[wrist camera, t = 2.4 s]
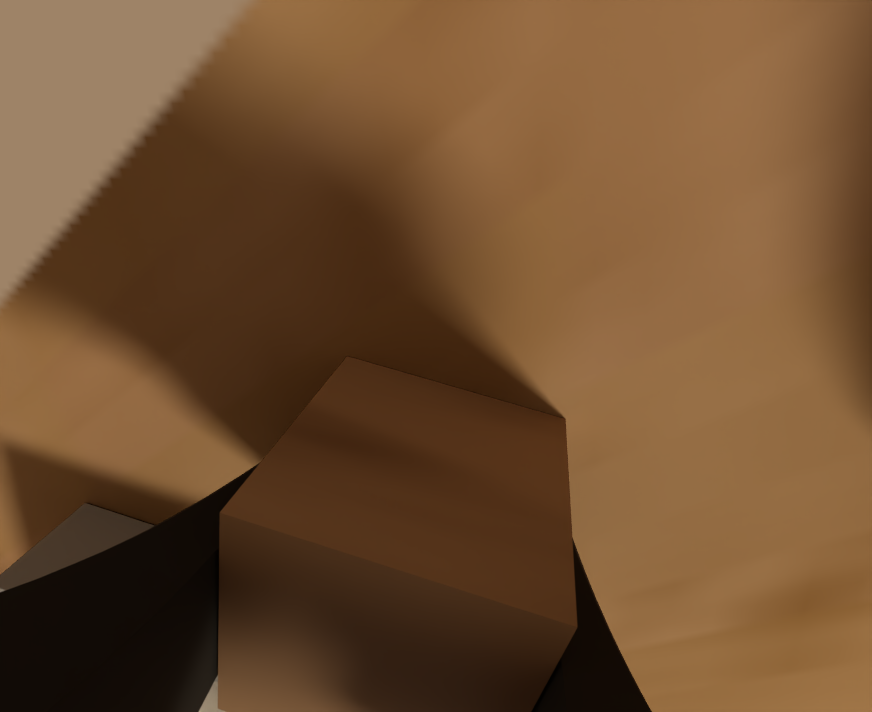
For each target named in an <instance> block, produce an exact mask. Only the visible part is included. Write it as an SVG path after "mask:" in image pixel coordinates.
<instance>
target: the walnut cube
mask: <svg viewBox="0 0 872 712" xmlns="http://www.w3.org/2000/svg"><path fill="white" fill-rule="evenodd" d="M576 629H577V611H576V593H575V576H574V559H573V541H572V524H571V507H570V489H569V472H568V455H567V438H566V420H565V419H564V418H560V417H557V416H553V415H550V414H546V413H543V412H539V411H536V410H533V409H529V408H526V407H522V406H519V405H515V404H512V403H508V402H505V401H501V400H498V399H494V398H491V397H487V396H484V395H480V394H477V393H473V392H470V391H467V390H463V389H460V388H456V387H453V386H449V385H446V384H442V383H439V382H435V381H432V380H428V379H425V378H421V377H418V376H414V375H411V374H408V373H404V372H401V371H397V370H394V369H390V368H387V367H383V366H380V365H376V364H373V363H369V362H366V361H362V360H359V359H355V358H352V357H349V356H347V357H346V358H345V359H344V361H343V362H342V363H341V364H340V366H339V367H338V368H337V369H336V370H335V372H334V373H333V374H332V375H331V377H330V378H329V379H328V380H327V381H326V383H325V384H324V385H323V386H322V388H321V389H320V390H319V391H318V393H317V394H316V395H315V396H314V397H313V399H312V400H311V401H310V402H309V404H308V405H307V406H306V407H305V408H304V410H303V411H302V412H301V413H300V415H299V416H298V417H297V418H296V420H295V421H294V422H293V423H292V424H291V426H290V427H289V428H288V429H287V431H286V432H285V433H284V434H283V435H282V437H281V438H280V439H279V440H278V442H277V443H276V444H275V445H274V447H273V448H272V449H271V450H270V451H269V453H268V454H267V455H266V456H265V458H264V459H263V460H262V461H261V462H260V464H259V465H258V466H257V467H256V469H255V470H254V471H253V472H252V473H251V475H250V476H249V477H248V478H247V480H246V481H245V482H244V483H243V485H242V486H241V487H240V488H239V489H238V491H237V492H236V493H235V494H234V496H233V497H232V498H231V499H230V500H229V502H228V503H227V504H226V505H225V507H224V508H223V509H222V510H221V512H220V525H219V622H218V709H220V710H223V711H226V712H531V711H532V709H533V708H534V706H535V704H536V702H537V700H538V698H539V697H540V695H541V693H542V691H543V689H544V687H545V686H546V684H547V682H548V680H549V678H550V677H551V675H552V673H553V671H554V669H555V667H556V666H557V664H558V662H559V660H560V658H561V657H562V655H563V653H564V651H565V649H566V647H567V646H568V644H569V642H570V640H571V638H572V636H573V635H574V633H575V631H576Z"/></svg>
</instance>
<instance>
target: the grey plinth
mask: <svg viewBox="0 0 872 712" xmlns="http://www.w3.org/2000/svg"><path fill="white" fill-rule="evenodd" d="M152 527H154V525H151V524H148V523H145V522H142V521H139V520H136V519H133V518H130V517H127V516H124V515H121V514H118V513H114V512H111V511H108V510H105V509H102V508H99V507H96V506H93V505H90V504H87V503H84V504H83V505H82V506H81V507H80V508H78V509H77V510H76V511H75V512H74V513H73V514H71V515H70V516H69V517H68V518H67V519H66V520H64V521H63V522H62V523H61V524H60V525H58V526H57V527H56V528H55V529H54V530H53V531H51V532H50V533H49V534H48V535H47V536H45V537H44V538H43V539H42V540H41V541H40V542H38V543H37V544H36V545H35V546H34V547H33V548H31V549H30V550H29V551H28V552H27V553H25V554H24V555H23V556H22V557H21V558H20V559H18V560H17V561H16V562H15V563H14V564H12V565H11V566H10V567H9V568H8V569H7V570H5V571H4V572H3V573H2V574H1V575H0V592H2V591H5V590H8V589H11V588H13V587H16V586H19V585H22V584H24V583H27V582H30V581H33V580H35V579H38V578H40V577H43V576H45V575H48V574H50V573H53V572H55V571H57V570H60V569H62V568H65V567H67V566H70V565H72V564H74V563H77V562H79V561H81V560H84V559H86V558H88V557H91V556H93V555H95V554H98V553H100V552H102V551H104V550H107V549H109V548H111V547H113V546H115V545H117V544H119V543H121V542H124V541H126V540H128V539H130V538H132V537H134V536H136V535H138V534H140V533H142V532H144V531H146V530H148V529H150V528H152ZM199 712H226V711H223V710H220V709H218V676H217V677H216V679H215V681H214V683H213V685H212V687H211V689H210V691H209V693H208V695H207V697H206V698H205V700H204V702H203V704H202V706H201V708H200V710H199Z"/></svg>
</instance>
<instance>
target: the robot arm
mask: <svg viewBox="0 0 872 712" xmlns="http://www.w3.org/2000/svg"><path fill="white" fill-rule="evenodd" d="M259 464H260V463H259ZM259 464H257V465H256V466H254V467H253V468H251V469H250V470H248V471H247V472H245V473H244V474H242V475H241V476H239V477H237V478H236V479H234V480H233V481H231V482H229V483H228V484H226V485H225V486H223V487H222V488H220V489H218V490H217V491H215V492H214V493H212V494H210V495H209V496H207V497H205V498H204V499H202V500H200V501H198V502H197V503H195V504H193V505H191V506H190V507H188V508H186V509H184V510H183V511H181V512H179V513H177V514H176V515H174V516H172V517H170V518H169V519H167V520H165V521H163V522H161V523H159V524H157V525H155V526H154V527H152V528H150V529H148V530H146V531H144V532H142V533H140V534H138V535H136V536H134V537H132V538H130V539H128V540H126V541H124V542H121V543H119V544H117V545H115V546H113V547H111V548H109V549H107V550H104V551H102V552H100V553H98V554H95V555H93V556H91V557H88V558H86V559H84V560H81V561H79V562H77V563H74V564H72V565H70V566H67V567H65V568H62V569H60V570H57V571H55V572H53V573H50V574H48V575H45V576H43V577H40V578H38V579H35V580H33V581H30V582H27V583H24V584H22V585H19V586H16V587H13V588H11V589H8V590H5V591H2V592H0V712H199V710H200V708H201V706H202V704H203V702H204V700H205V698H206V697H207V695H208V693H209V691H210V689H211V687H212V685H213V683H214V681H215V679H216V677H217V676H218V622H219V525H220V512H221V510H222V509H223V508H224V507H225V505H226V504H227V503H228V502H229V500H230V499H231V498H232V497H233V496H234V494H235V493H236V492H237V491H238V489H239V488H240V487H241V486H242V485H243V483H244V482H245V481H246V480H247V478H248V477H249V476H250V475H251V473H252V472H253V471H254V470H255V469H256V467H257V466H258V465H259ZM572 541H573V538H572ZM573 559H574V576H575V593H576V611H577V629H576V631H575V633H574V635H573V636H572V638H571V640H570V642H569V644H568V646H567V647H566V649H565V651H564V653H563V655H562V657H561V658H560V660H559V662H558V664H557V666H556V667H555V669H554V671H553V673H552V675H551V677H550V678H549V680H548V682H547V684H546V686H545V687H544V689H543V691H542V693H541V695H540V697H539V698H538V700H537V702H536V704H535V706H534V708H533V709H532V711H531V712H652V711H651V710H650V708H649V706H648V704H647V702H646V701H645V699H644V697H643V695H642V693H641V691H640V689H639V688H638V686H637V684H636V682H635V680H634V678H633V676H632V674H631V672H630V670H629V668H628V666H627V664H626V662H625V660H624V658H623V656H622V654H621V652H620V650H619V648H618V646H617V644H616V642H615V640H614V638H613V635H612V633H611V631H610V629H609V627H608V624H607V622H606V620H605V618H604V615H603V613H602V611H601V609H600V606H599V604H598V602H597V600H596V597H595V595H594V592H593V590H592V588H591V585H590V583H589V580H588V578H587V575H586V573H585V570H584V568H583V565H582V562H581V560H580V557H579V554H578V552H577V549H576V546H575V543H574V541H573Z"/></svg>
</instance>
